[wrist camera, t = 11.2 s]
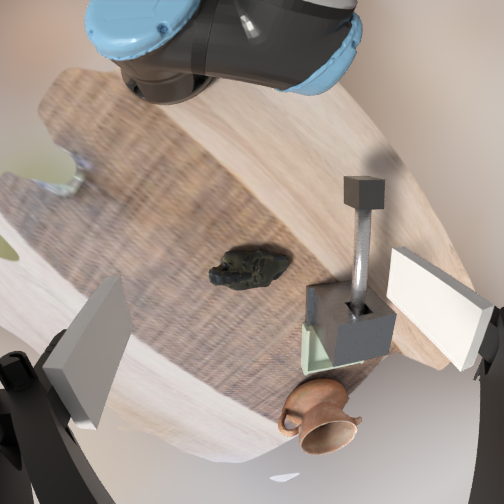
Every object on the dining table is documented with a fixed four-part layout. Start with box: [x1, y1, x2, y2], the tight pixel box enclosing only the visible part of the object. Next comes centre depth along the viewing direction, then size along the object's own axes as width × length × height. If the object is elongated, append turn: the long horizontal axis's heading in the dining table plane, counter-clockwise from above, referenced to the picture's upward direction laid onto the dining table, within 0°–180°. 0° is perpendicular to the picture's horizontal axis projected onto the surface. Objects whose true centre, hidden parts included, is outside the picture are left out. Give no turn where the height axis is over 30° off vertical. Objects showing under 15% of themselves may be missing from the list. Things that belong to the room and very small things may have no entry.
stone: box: [209, 250, 289, 290], centre depth 48 cm, size 7×13×5 cm, turn 94°
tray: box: [301, 322, 364, 375], centre depth 57 cm, size 11×13×3 cm
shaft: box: [344, 176, 385, 317], centre depth 43 cm, size 27×4×5 cm, turn 4°
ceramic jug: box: [278, 379, 362, 455], centre depth 56 cm, size 18×14×14 cm
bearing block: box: [305, 280, 397, 367], centre depth 49 cm, size 8×12×14 cm, turn 94°
